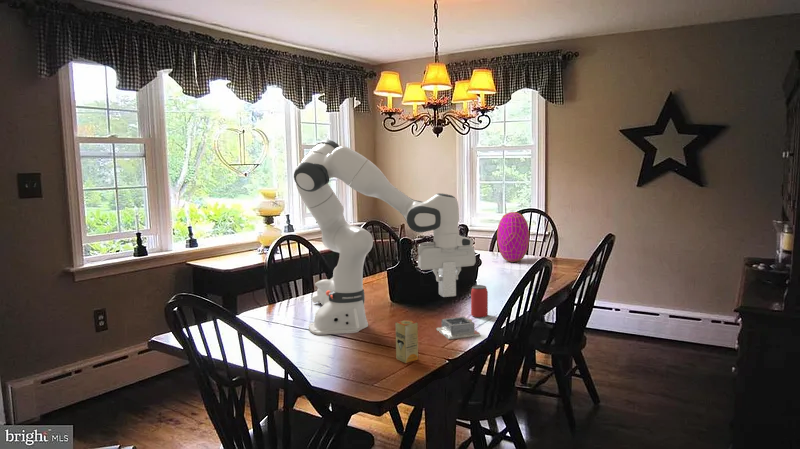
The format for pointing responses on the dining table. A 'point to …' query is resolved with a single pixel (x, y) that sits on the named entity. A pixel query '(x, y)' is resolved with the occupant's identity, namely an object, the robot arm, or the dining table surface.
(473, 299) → the beer can
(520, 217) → the decorative egg
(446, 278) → the white rectangular block
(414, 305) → the dining table surface
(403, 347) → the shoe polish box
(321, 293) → the fox head
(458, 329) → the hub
